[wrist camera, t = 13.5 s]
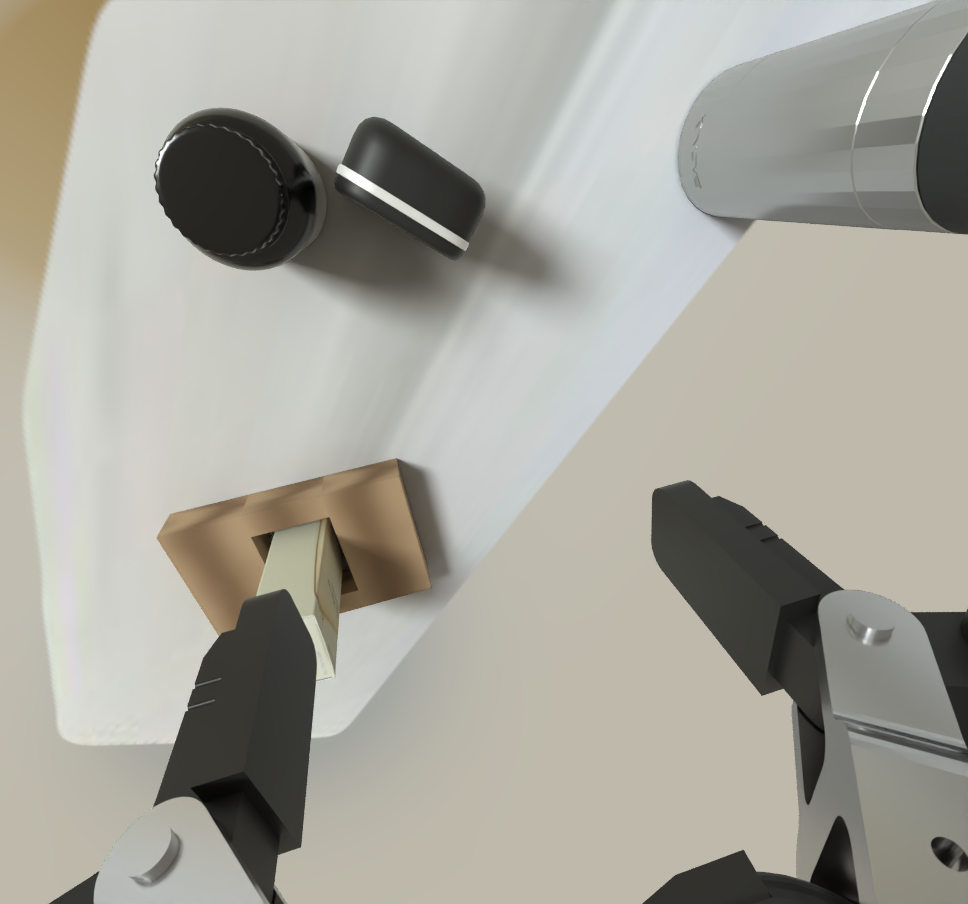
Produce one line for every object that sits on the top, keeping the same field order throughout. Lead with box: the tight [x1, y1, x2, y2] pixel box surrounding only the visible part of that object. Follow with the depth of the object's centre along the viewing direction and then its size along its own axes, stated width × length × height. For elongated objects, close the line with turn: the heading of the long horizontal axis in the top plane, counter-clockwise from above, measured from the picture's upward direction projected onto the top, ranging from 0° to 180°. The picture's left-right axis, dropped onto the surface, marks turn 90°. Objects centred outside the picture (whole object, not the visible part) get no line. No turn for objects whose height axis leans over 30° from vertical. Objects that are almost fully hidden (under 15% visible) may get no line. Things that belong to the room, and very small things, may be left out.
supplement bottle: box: [154, 108, 327, 270], centre depth 25 cm, size 7×7×12 cm
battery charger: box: [334, 117, 485, 260], centre depth 27 cm, size 7×4×11 cm, turn 60°
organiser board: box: [157, 459, 431, 636], centre depth 41 cm, size 18×12×3 cm, turn 99°
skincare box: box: [256, 517, 343, 682], centre depth 37 cm, size 6×4×12 cm
